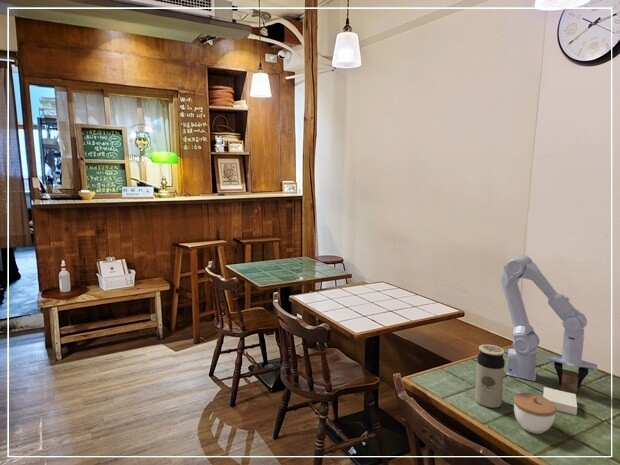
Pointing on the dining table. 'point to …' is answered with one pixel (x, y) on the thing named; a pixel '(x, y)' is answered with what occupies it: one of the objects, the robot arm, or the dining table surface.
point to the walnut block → (569, 381)
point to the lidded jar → (534, 412)
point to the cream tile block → (561, 400)
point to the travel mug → (489, 376)
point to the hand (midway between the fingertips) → (568, 385)
